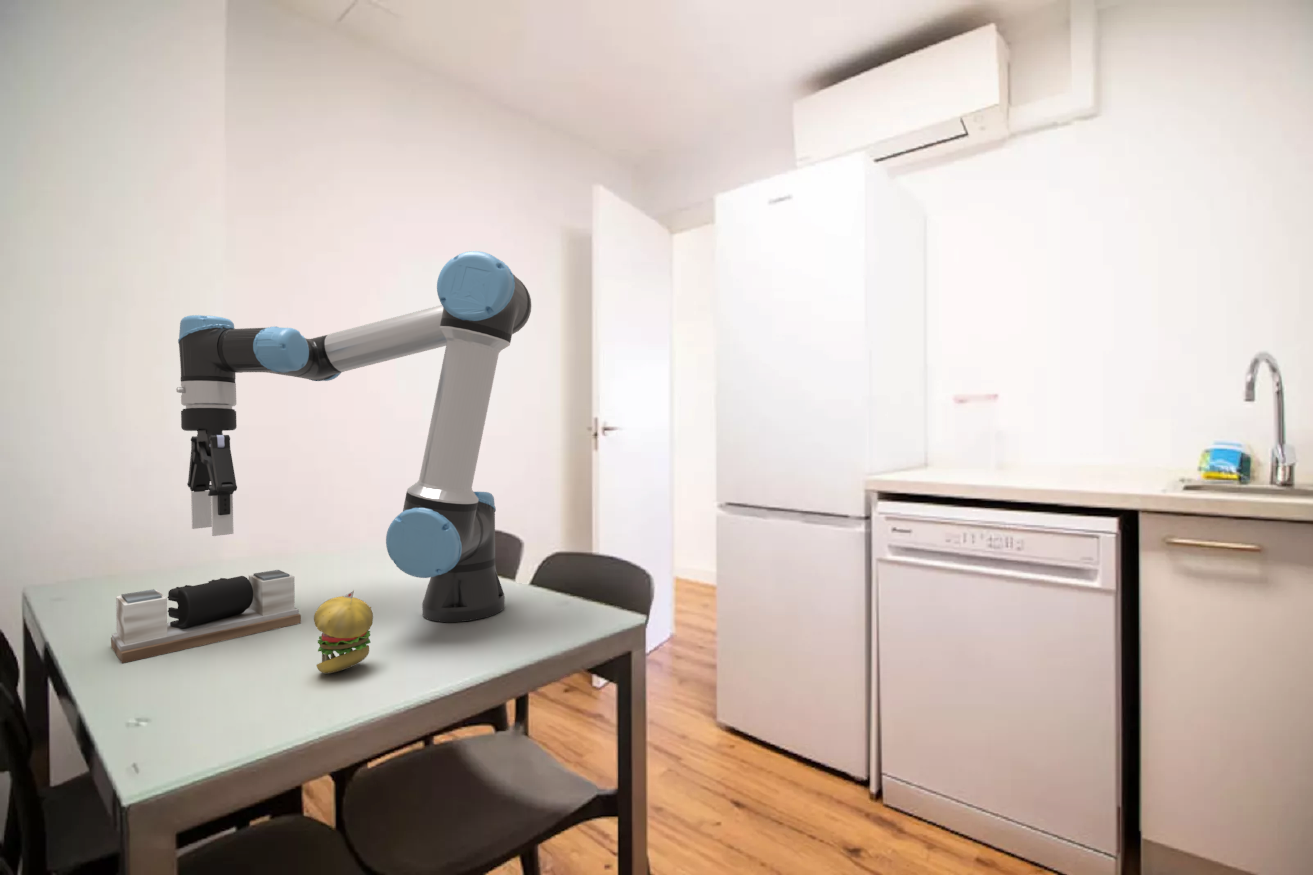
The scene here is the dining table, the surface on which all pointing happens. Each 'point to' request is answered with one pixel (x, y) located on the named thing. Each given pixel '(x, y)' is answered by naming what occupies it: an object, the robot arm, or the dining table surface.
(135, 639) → the rail board
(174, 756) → the dining table surface
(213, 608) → the end cap
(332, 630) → the hamburger
